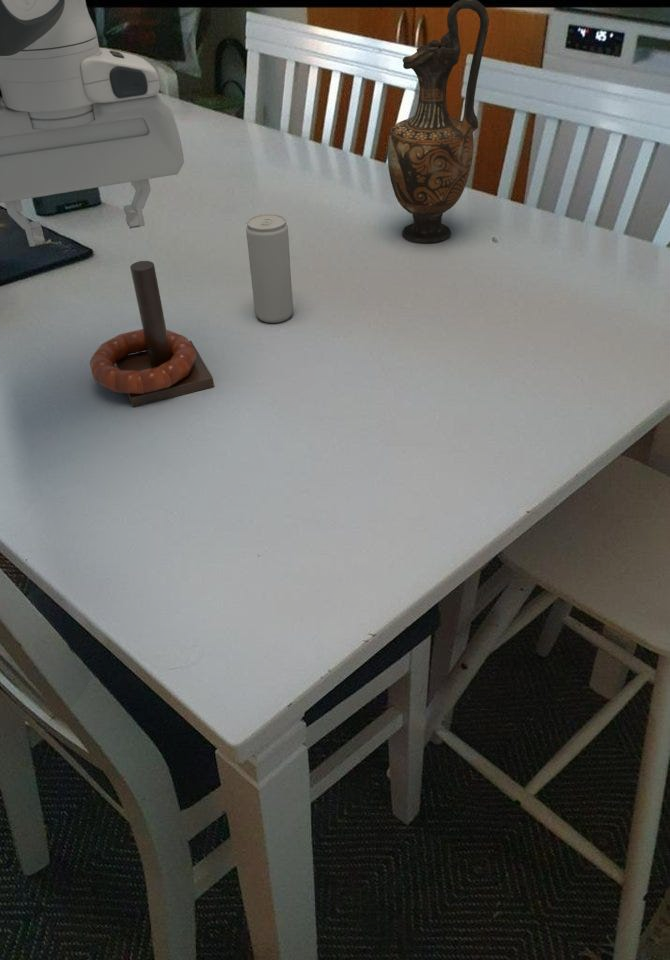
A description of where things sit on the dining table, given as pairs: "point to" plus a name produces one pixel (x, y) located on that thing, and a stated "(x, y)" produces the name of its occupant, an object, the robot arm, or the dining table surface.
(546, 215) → the dining table surface
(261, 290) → the beverage can
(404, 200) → the vase
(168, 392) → the post
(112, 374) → the ring
